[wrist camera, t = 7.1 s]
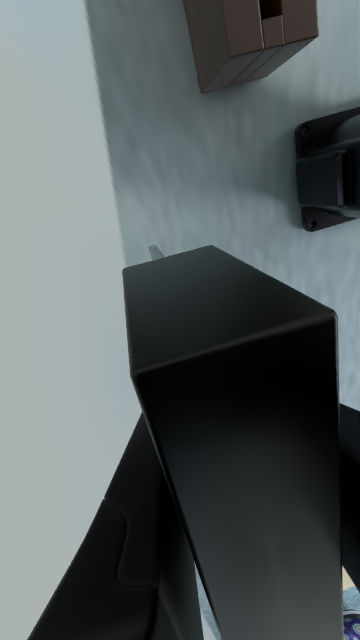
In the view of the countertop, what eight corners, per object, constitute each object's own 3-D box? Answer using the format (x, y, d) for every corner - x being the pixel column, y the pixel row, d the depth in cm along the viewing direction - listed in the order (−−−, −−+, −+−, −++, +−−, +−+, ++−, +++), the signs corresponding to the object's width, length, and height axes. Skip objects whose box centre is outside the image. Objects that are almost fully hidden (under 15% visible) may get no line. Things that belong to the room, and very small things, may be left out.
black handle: (177, 225, 13) (340, 310, 3) (213, 385, 16) (345, 649, 7) (119, 240, 12) (128, 374, 3) (167, 400, 16) (239, 692, 6)
